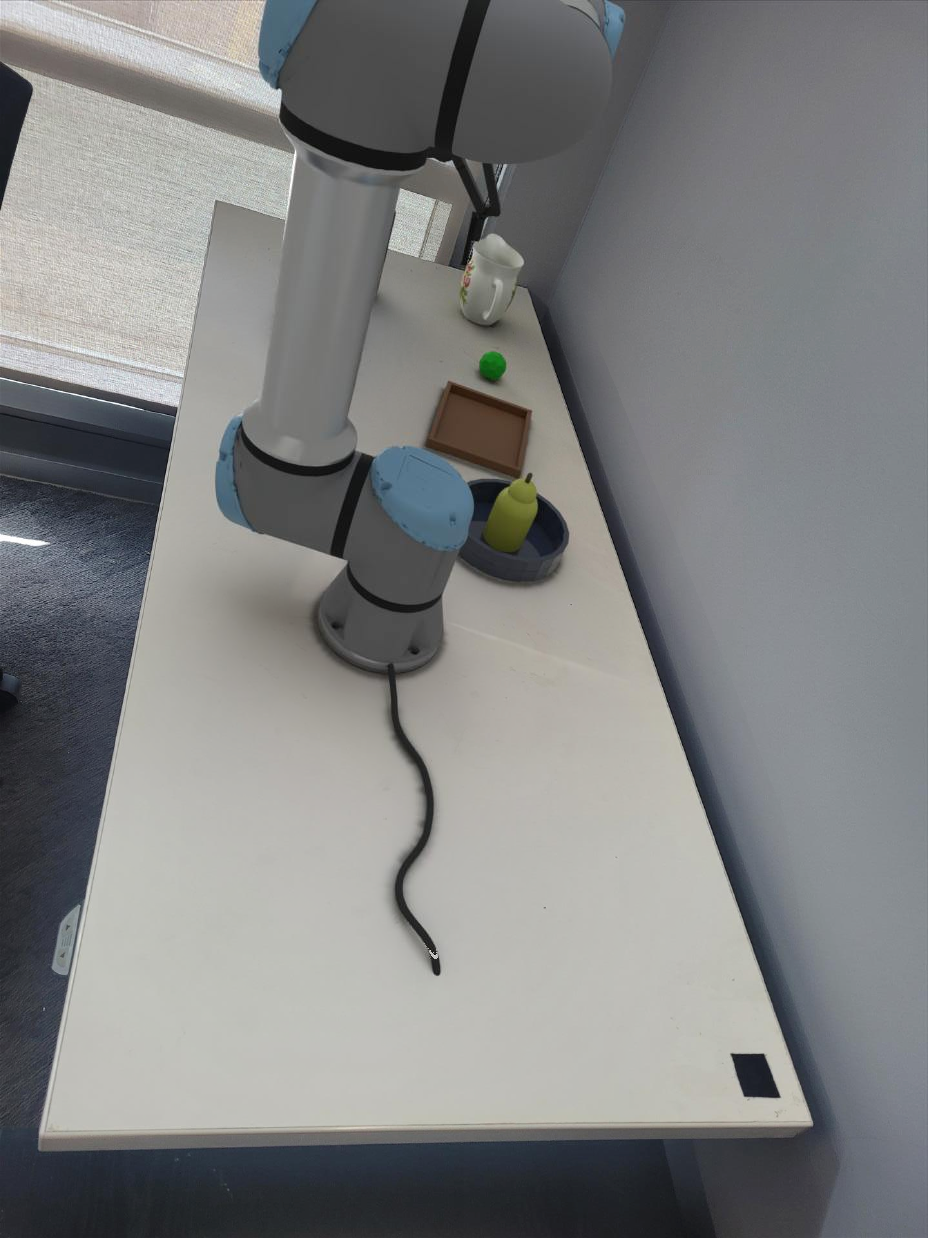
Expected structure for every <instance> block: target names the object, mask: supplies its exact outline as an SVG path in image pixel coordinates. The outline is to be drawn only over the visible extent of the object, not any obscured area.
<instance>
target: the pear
mask: <svg viewBox="0 0 928 1238" xmlns="http://www.w3.org/2000/svg"><path fill="white" fill-rule="evenodd" d="M532 478H533V473H532V472H528V473H527V475H526V477H525V478H523V477H521V478H520V477H519V478H516V479H515V480H513V481H511V482H512V483H511V485H510V486H509V487H507V488H505V489H504V490H502V491H501V492H500V493H499V495H498V497H497V499H496V501H495V503H494V506H493V508H492V511H491V513H490V516H489V518H488V520H487V523H486V525H485V528H484V530H483V537H484V539H485V541H486V542H487V543H488V544H489V545H490V546H492V547H493V548H495V549H497V550H499V551H502V552H515V551H518V550H519V549H520V548H521V546H522V544H523V542H524V540H525V538H526V535H527V533H528V531H529V529H530V527H531V525H532V523H533V520H534V518H535V516H536V514H537V510H538V504H537V499H536V496H537V493H538V490H537V487H536V484H534V483H533V482H532Z"/></svg>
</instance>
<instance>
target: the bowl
mask: <svg viewBox="0 0 928 1238" xmlns="http://www.w3.org/2000/svg"><path fill="white" fill-rule="evenodd" d="M512 482H513V481H511V480H505V479H501V478H478V479H473V480H470V481H466V483H467V484H468V486H469V488H470V490H471V493H472V496H473V501H474V511H473V516H472V519H471V522H470V525H469V530H468V536H467V539H466V541H465V543H464V544H463V545H462V547H461V548H460V550H459V553H458V556H459V557H460V558H461V559H462V560H464V561H465V562H466V563H467V564H469V565H470V566H471V567H473V568H475V569H476V570H478V571H480V572H482V573H484V574H486V575H488V576H490V577H493V578H496V579H500V580H502V581H503V580H504V581H509V582H517V583H518V582H519V583H526V582H527V583H529V582H534V581H539V580H541V579H545V578H546V577H547V576H549V575H550V574H551V573H553V572H554V571H555V570H556V567H557V566H558V564H559V562H560V561H561V559H562V557H563V555H564V553H565V551H566V549H567V547H568V545H569V543H570V531H569V527H568V523H567V521H566V519H565V518H564V516H563V515H562V513H561V512H560V510H558V509H557V508H556V506H555V505H554V504H553V503H552V502H551V501H549V500H548V499H547V498H546V497H544V496H542V495H541V494H540V493H538V492H537V496H536V499H537V504H538V510H537V514H536V516H535V518H534V520H533V523H532V525H531V527H530V529H529V531H528V533H527V535H526V538H525V540H524V542H523V544H522V546H521V548H520V549H519V550H518V551H515V552H502V551H499V550H497V549H495V548H493V547H492V546H490V545H489V544H488V543H487V542H486V541H485V539H484V537H483V530H484V528H485V525H486V523H487V520H488V518H489V516H490V513H491V511H492V508H493V506H494V503H495V501H496V499H497V497H498V495H499V493H500V492H501V491H502V490H504V489H505V488H507V487H509V486H510V485H511V483H512Z"/></svg>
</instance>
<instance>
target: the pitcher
mask: <svg viewBox="0 0 928 1238" xmlns="http://www.w3.org/2000/svg"><path fill="white" fill-rule="evenodd" d="M472 247H473V248H472V256H471V259H470V260H469V261H468V262H467V264H466V266H465V269H463V270H464V271H463V274H462V277H461V281H460V285H459V301H460V302H459V303H460V307H461V310H462V314H463V316H464V318H466V319H468V320H469V321H470V322H473V323H475V324H478V325H480V326H481V325H482V326H490V325H493V324H495V323H496V322H497V321H498V320H500V319H501V318H502V317H503V316H504V314H506V312H507V310H508V309H509V308H510V305H511V304H512V302H513V300H514V298H515V295H516V292H517V288H518V277H519V276H518V275H519V274H520V272H521V270H522V268H523V267H524V264H525V261H524V258H523V257H522V255H521V254H520V253H519V251H517V250H516V249H514V248H513V247H512V246H510V245H509V244H508V243H507V242H506V241H505V240H504V239H503V237H501V236H500V235H498V234H497V233H492V232H491V233H489V234H488V235H487V236H486V237H485V238H481V239H480V240H479V242H477V241H474V243H473V246H472Z"/></svg>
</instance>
